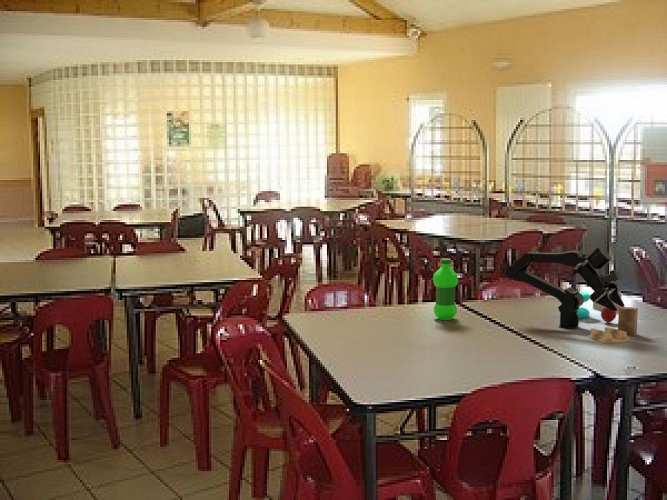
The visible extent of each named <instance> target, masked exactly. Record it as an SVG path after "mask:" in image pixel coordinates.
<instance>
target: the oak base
mask: <svg viewBox="0 0 667 500" xmlns="http://www.w3.org/2000/svg"><path fill="white" fill-rule="evenodd" d="M589 334H590V335H589V336H588V338H589V339H591V340H595V341H597V342H601V343H603V344H607V345H610V344H618V343H620V344H621V343H627V342H629V341H628V339H627V336H628V335H627V332H624V331H621V330H618V328H614V327H611V326H605V327H604V330H601V329H597V328H596V327H591V328H590V333H589Z"/></svg>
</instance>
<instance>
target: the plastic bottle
mask: <svg viewBox="0 0 667 500" xmlns="http://www.w3.org/2000/svg"><path fill="white" fill-rule="evenodd" d="M440 264H441V267H440V268H439V269H438V270H437V271H435V272H434V273H433V278H432V280H433V285H434V286H435V301H436V302H435V303H434V306H433V313H434V315H435V316H436V317H437V319H438V320H441V321H451V320H452V319H453V318H455V317H456V315H457V313H458V308H457V305H456V301H455V300H456V299H455V298H456V287H457V285H458V283H459V277H458V274H457V273H456V271H454V269H452V268H451V267H450V265H451V264H452V258H444V257H443V258H440Z"/></svg>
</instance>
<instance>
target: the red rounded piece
mask: <svg viewBox="0 0 667 500" xmlns="http://www.w3.org/2000/svg"><path fill="white" fill-rule="evenodd" d="M600 311H601V310H600ZM600 316H601V319H602V320H603V321H604V322H605V323H606V324H610V323H611V322H613V321H614V320H615V319H616V317H617V311H613V310H611V309H609V308H607V307H604V308H603V309H602V311H601V312H600Z"/></svg>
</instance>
